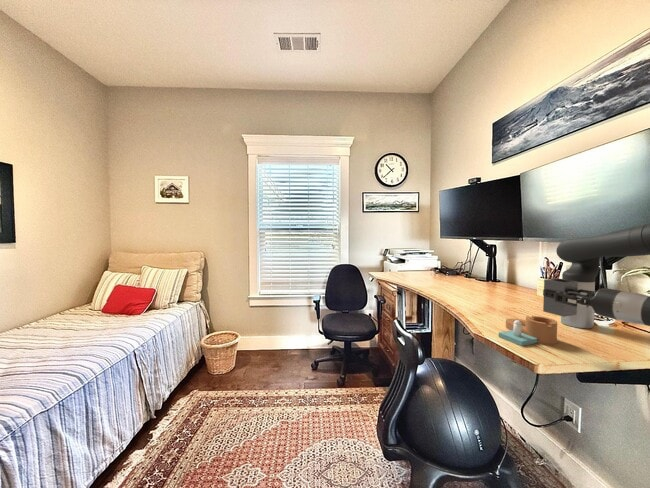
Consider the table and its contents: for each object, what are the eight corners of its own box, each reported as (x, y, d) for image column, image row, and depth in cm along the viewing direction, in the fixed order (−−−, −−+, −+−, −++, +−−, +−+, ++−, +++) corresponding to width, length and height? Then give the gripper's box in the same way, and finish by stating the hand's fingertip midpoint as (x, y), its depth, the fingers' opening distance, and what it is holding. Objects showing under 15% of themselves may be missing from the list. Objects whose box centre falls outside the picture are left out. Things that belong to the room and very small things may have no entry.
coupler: (555, 309, 86) (556, 278, 86) (576, 314, 81) (577, 281, 80) (543, 311, 85) (544, 279, 84) (563, 316, 79) (564, 282, 79)
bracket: (563, 344, 88) (564, 323, 87) (538, 345, 88) (539, 324, 87) (521, 325, 106) (521, 307, 105) (500, 325, 105) (500, 308, 105)
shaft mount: (513, 334, 96) (513, 315, 96) (537, 342, 89) (537, 323, 89) (498, 336, 94) (498, 318, 94) (521, 346, 87) (521, 325, 86)
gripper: (605, 323, 67) (534, 305, 83) (640, 317, 71) (566, 301, 87) (606, 293, 66) (534, 281, 83) (641, 289, 71) (567, 278, 87)
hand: (551, 291), depth 85 cm, fingers closed on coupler, 5 cm apart
